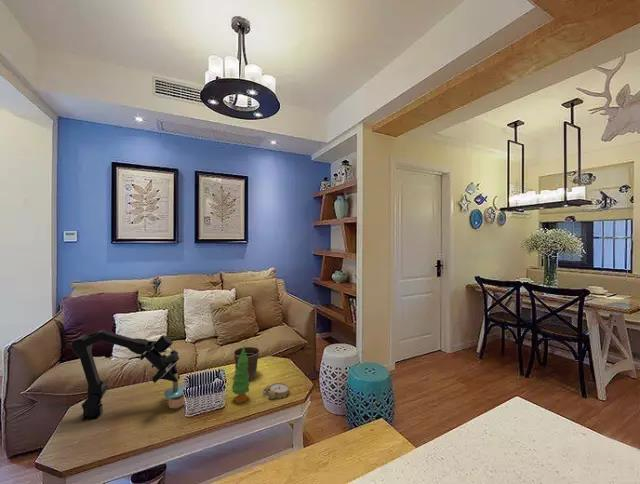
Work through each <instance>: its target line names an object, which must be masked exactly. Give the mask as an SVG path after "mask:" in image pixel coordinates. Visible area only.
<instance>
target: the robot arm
mask: <svg viewBox="0 0 640 484" xmlns="http://www.w3.org/2000/svg"><path fill="white" fill-rule="evenodd" d="M99 341H102V342H106V343H109V344H112V345H116V346H120V347H122V348H126V349H127V350H129V351H130V352H132V353H134V354H136V355H140V359H139V360H140V361H142V360H144V359H145V360H147V361H148V362H149V363H150V364H151V366H150V367H151V368H152V369H153V368H155V369H156V370H157V373H156V374H155V375H153V376H152V377H151V381H152V382H153V383H154V384H156V383H157V382H158V381H159V380H165V381H170V382H172V383H173V382H177V381H178V382H179V379H181V377H180V376H181V375H180V374H179V372H178V369H177V362H178V361H179V360H180V356H179V352H178V351H177V350H176V349H173V350H172V351H170V354H169V355H166V354H163V355H162V353H164V352H166V351H167V349H169V348H170V347H171V346H172V345H173V344H174V343H173V340H172V339H171V338H169V337H168V336H165V335H164V334H163V335H161V336H160V337H159V338H158V339H157V340H148V339H147V338H140V337H137V338H133V337H129V336H125V335H121V334H119V333H114V332H111V331H108V330H107V329H101V330H99V331H96V332H93V333H92V332H91V334H82V335H81V336H79V337H78V338H76V339H75V340H74V341H72V343H71V345H70V346H71V349H72V351H73V353H74V354H75V356H77V357H79V359H80V363H81V367H82V370H83V372H84V373H83V374H84V375H85V379H86V382H87V392H86V394H87V395H86V396H87V398H86V399H85V400H84V401H83V403H82V404H81V408H82V409H83V411H82V412H83V413H82V415H83V416H82V418H81V420H80V421H87V420H88V421H90V420H97V419H98V418H99V417H100V416H101V414H102V413H103V412H104V407H103V405H104V404H103V403H102V399H103V398H104V396H105V394H106V393H107V391H108V388H109V386H108V385H107V379H105V380H101V378H100V376H99V373H98V369H97V365H96V362H95V359H94V355H93V353H92V351H93V345H94V344H95V343H97V342H99ZM175 373H178V380H177V378H176V377H175V376H174V375H173V374H175Z"/></svg>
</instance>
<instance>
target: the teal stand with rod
mask: <svg viewBox="0 0 640 484" xmlns="http://www.w3.org/2000/svg"><path fill="white" fill-rule="evenodd" d="M178 374H179V372H178V373H175V374H173V375H174V376H175V377H176V378H177V380H178V381H177V382H173V381H172V387H169V388H168V389H166V390H165V391H164V393H163V394H164V395H163V396H164V397H165V398H166V399H169V398H177V397H180V396H182V395H183V394H184V392H183V387H184V386H181V385H179V379H178Z"/></svg>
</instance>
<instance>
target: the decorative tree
mask: <svg viewBox="0 0 640 484" xmlns="http://www.w3.org/2000/svg"><path fill="white" fill-rule="evenodd" d="M242 347H243V349H242V352H241V355H240V357H239V359H238V363H237V365H236V366H237V368H236V367H235V370H234V373H235V374H234V376H233V378H232V381H233V384H232V385H231V389H232V390H231V392H232V393H234V395H237V397H236V398H235V399H234V401H235V402H236V403H238V404H239V402H240V403H244V402H245V401H247V393H248V392H250V380H248V369H247V368H248V362H247V361H248V358H247V355H246V352H245V347H246V346H242ZM243 401H244V402H243Z"/></svg>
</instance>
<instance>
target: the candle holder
mask: <svg viewBox="0 0 640 484" xmlns="http://www.w3.org/2000/svg"><path fill="white" fill-rule="evenodd" d="M268 391H269V392H268ZM291 391H292V390H290V386H289V385H288V384H286V383H282V382H275V383H272V384H268V385H266V386H265V388H264V389H263V391H262V394H263V395H264V396H266V397H268V398H269V399H270V400H274V399H281V398H280V397H284V396H286V395H287V394H288V393H291ZM288 395H289V394H288ZM286 397H287V396H286ZM284 398H285V397H284Z"/></svg>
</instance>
